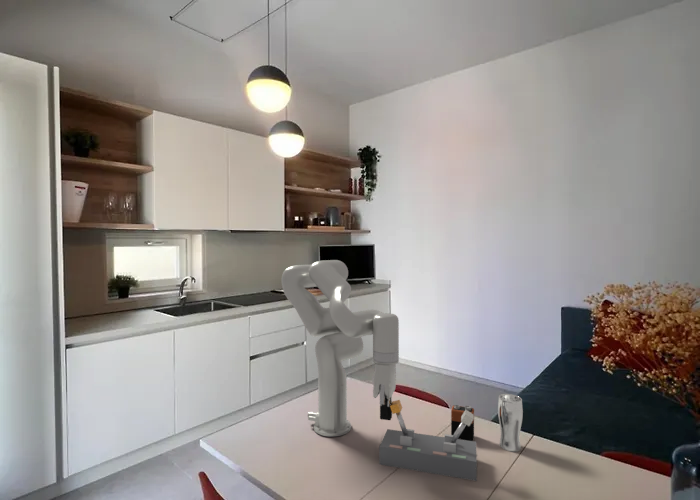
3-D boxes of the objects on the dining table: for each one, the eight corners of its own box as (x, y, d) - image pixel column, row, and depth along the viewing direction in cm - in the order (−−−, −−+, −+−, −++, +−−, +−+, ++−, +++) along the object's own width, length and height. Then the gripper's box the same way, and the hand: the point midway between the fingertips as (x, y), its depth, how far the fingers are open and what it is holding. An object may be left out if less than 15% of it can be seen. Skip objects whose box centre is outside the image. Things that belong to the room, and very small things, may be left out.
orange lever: (402, 442, 111) (389, 405, 112) (404, 437, 114) (391, 401, 115) (410, 440, 111) (397, 403, 112) (412, 435, 114) (399, 399, 115)
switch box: (379, 464, 109) (379, 438, 109) (387, 445, 120) (387, 421, 120) (476, 480, 102) (476, 453, 102) (476, 459, 112) (476, 434, 112)
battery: (473, 442, 122) (473, 410, 122) (451, 438, 124) (451, 407, 124) (474, 435, 126) (474, 405, 126) (452, 432, 128) (452, 402, 128)
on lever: (445, 445, 108) (465, 414, 106) (446, 439, 111) (465, 409, 109) (453, 450, 107) (473, 419, 105) (454, 445, 110) (473, 414, 108)
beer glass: (521, 443, 121) (521, 395, 121) (523, 454, 115) (523, 403, 115) (497, 439, 124) (497, 392, 123) (498, 450, 117) (498, 400, 117)
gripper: (379, 349, 122) (379, 407, 122) (366, 362, 108) (366, 428, 108) (403, 350, 120) (403, 410, 120) (393, 364, 106) (393, 431, 106)
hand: (385, 418), depth 114 cm, fingers closed
